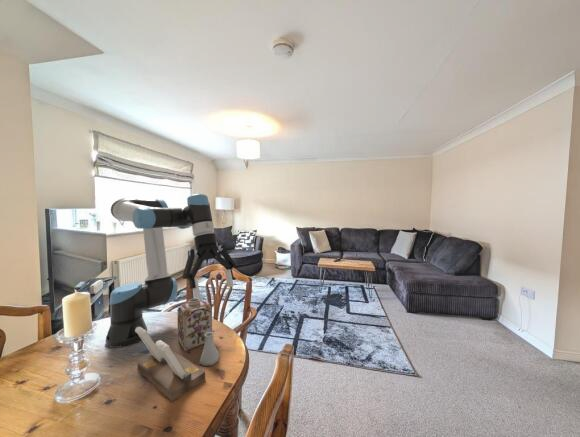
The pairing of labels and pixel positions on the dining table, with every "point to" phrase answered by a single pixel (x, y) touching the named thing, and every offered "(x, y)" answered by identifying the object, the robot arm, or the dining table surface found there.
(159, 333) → the dining table surface
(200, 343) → the decorative jar
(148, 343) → the switch
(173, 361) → the switch
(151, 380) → the switch panel
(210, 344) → the flask
